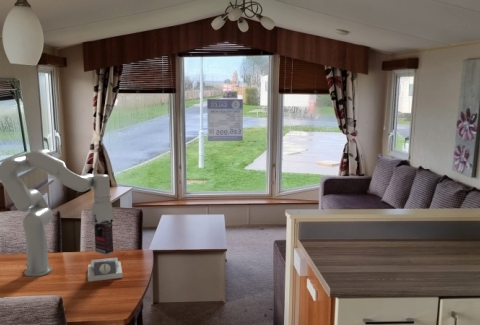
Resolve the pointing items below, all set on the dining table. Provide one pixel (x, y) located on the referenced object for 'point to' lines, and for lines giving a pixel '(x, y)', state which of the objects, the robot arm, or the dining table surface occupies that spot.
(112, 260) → the pan
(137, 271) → the dining table surface
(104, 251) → the supplement box
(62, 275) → the dining table surface
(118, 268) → the scale base
